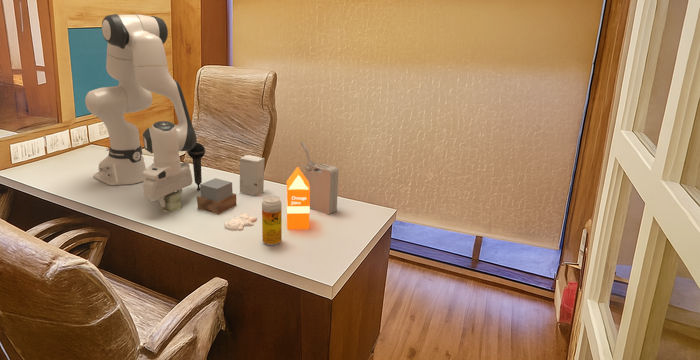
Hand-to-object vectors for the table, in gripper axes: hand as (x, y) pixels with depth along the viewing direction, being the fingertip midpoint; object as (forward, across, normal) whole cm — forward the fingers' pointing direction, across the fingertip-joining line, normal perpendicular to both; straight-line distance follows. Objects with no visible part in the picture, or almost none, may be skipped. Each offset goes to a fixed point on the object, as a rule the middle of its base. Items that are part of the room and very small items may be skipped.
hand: (170, 203), depth 173 cm
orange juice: (+2, -13, +46) cm, 48 cm away
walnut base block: (+2, -10, +13) cm, 17 cm away
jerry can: (+2, -29, +45) cm, 54 cm away
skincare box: (+2, -29, +15) cm, 33 cm away
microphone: (+2, -19, -4) cm, 20 cm away
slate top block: (-2, -10, +13) cm, 17 cm away
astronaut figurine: (+3, -3, +29) cm, 29 cm away
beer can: (+2, +3, +46) cm, 46 cm away
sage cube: (+2, 0, 0) cm, 2 cm away
